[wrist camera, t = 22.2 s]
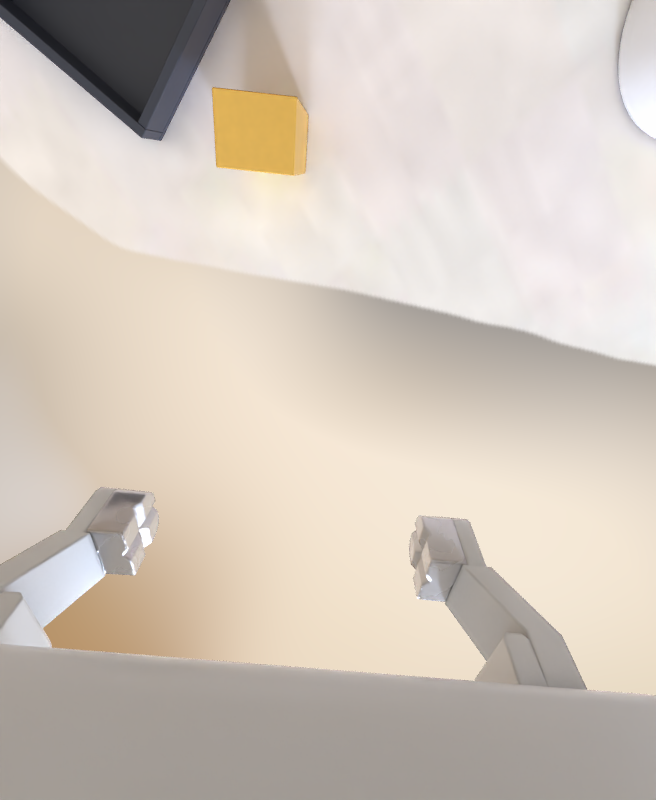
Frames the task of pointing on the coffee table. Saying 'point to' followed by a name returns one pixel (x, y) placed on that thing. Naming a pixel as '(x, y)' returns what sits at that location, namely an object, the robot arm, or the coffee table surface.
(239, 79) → the coffee table surface
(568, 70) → the coffee table surface
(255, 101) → the cheese
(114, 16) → the pan
